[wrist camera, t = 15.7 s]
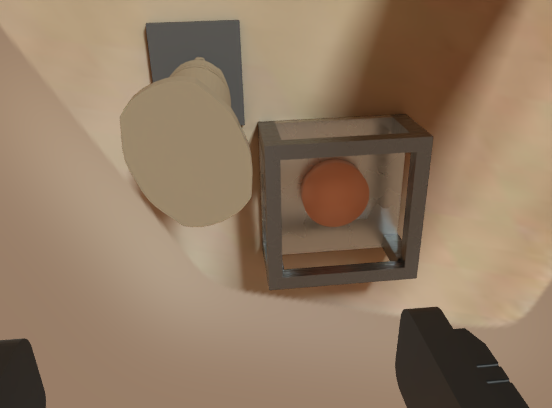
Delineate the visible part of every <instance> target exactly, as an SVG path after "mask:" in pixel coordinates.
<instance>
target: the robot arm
mask: <svg viewBox="0 0 552 408" xmlns="http://www.w3.org/2000/svg"><path fill="white" fill-rule="evenodd" d="M395 368H396V377H397V382H398V386H399V389H400V392H401V394H402V396H403V399H404V401H405V404H406V406H407V408H529V407H528V405H527V404H526V402H525V401H524V399H523V398H522V397H521V395H520V394H519V392H518V391H517V389H516V388H515V387H514V385H513V384H512V383H510V382H509V378H508V376H507V375H506V373H505V372H504V370H503V369H502V368H501V367H499V366H498V362H497V360H496V359H495V357H494V356H493V355H492V353H491V352H490V350H489V349H488V347H487V346H486V344H485V343H483V342H482V341H481V340H479V339H478V338H477V337H475V336H474V335H473V334H472V333H470V332H469V331H468V330H466V329H465V328H462V329H453V328H452V326H451V325H450V323H449V322H448V320H447V318H446V317H445V315H444V314H443V312H442V311H441V309H440V308H438V307H427V308H415V309H404V310H403V311H402V314H401V319H400V327H399V335H398V344H397V352H396V362H395ZM0 408H46V396H45V391H44V387H43V384H42V380H41V377H40V374H39V370H38V367H37V364H36V360H35V357H34V354H33V350H32V347H31V344H30V342H29V341H28V340H27V339H13V340H0Z"/></svg>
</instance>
